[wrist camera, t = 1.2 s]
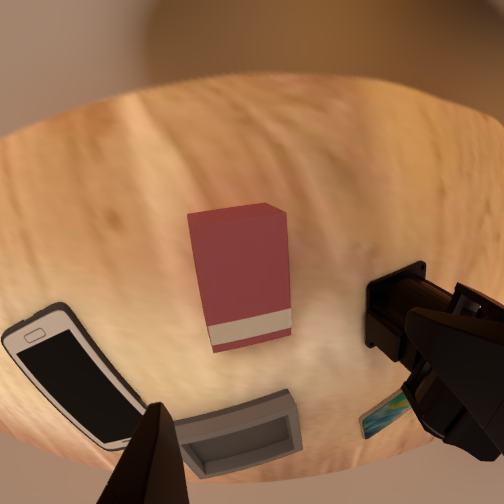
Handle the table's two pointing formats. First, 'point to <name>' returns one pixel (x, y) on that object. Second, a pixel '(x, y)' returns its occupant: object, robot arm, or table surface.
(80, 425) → the cell phone
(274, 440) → the pocket tray
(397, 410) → the smartphone
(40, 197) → the table surface
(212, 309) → the card box
